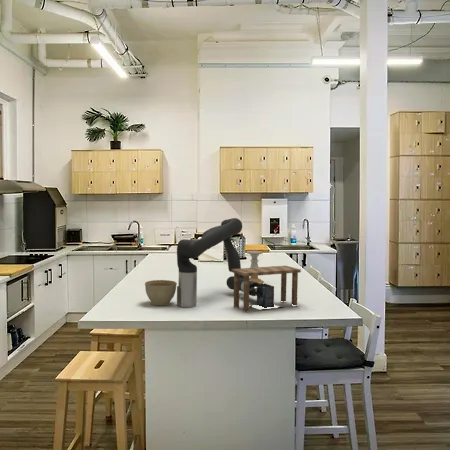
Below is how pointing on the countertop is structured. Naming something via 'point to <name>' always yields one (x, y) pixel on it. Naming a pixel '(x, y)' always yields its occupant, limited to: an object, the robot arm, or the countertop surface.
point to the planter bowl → (160, 291)
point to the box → (265, 295)
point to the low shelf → (264, 271)
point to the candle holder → (255, 265)
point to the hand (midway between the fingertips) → (267, 293)
